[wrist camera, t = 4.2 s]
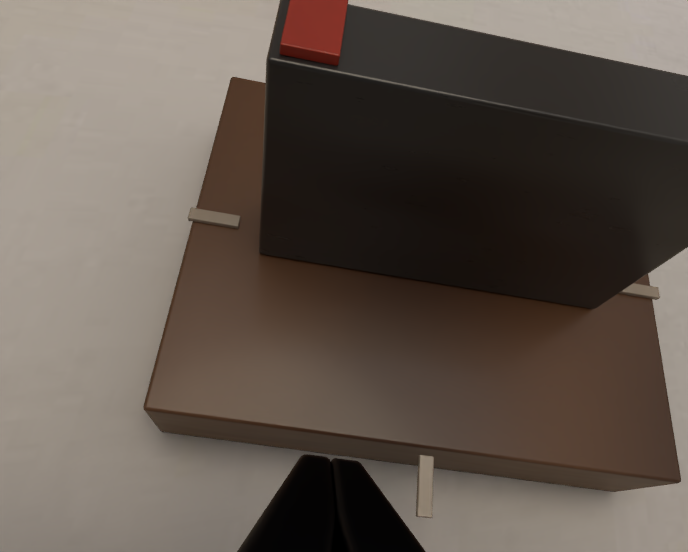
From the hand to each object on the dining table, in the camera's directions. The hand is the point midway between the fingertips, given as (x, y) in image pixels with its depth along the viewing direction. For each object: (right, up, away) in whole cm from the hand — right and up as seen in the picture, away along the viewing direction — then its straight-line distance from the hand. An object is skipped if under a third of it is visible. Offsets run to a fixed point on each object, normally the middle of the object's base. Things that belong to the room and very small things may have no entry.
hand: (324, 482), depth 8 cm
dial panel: (+2, +2, +11) cm, 11 cm away
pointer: (+3, +4, +8) cm, 9 cm away
